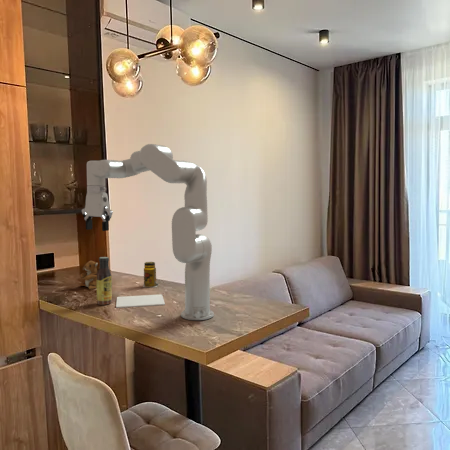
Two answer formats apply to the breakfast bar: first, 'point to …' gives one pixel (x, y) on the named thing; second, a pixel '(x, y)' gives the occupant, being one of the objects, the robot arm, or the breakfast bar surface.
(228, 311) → the breakfast bar surface
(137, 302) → the mat
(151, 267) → the condiment
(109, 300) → the sauce bottle
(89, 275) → the stuffed squirrel
